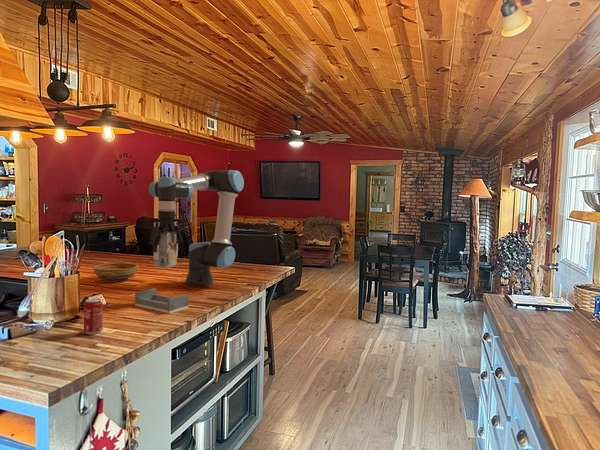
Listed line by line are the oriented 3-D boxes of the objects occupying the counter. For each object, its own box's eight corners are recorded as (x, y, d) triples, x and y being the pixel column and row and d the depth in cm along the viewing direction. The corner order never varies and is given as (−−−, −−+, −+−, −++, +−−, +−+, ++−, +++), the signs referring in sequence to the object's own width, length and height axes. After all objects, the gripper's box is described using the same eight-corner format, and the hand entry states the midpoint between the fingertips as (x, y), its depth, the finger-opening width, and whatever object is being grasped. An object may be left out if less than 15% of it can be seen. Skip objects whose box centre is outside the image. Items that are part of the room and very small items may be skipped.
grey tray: (154, 300, 208) (154, 288, 207) (188, 307, 197) (188, 294, 196) (135, 305, 198) (135, 292, 198) (169, 313, 187) (169, 299, 187)
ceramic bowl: (106, 274, 267) (106, 261, 266) (146, 275, 267) (146, 262, 267) (82, 284, 237) (82, 270, 237) (127, 285, 238) (127, 271, 237)
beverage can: (88, 329, 164) (87, 297, 163) (105, 329, 164) (105, 297, 163) (81, 335, 158) (80, 302, 157) (99, 335, 158) (98, 302, 157)
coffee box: (164, 264, 209) (165, 230, 208) (176, 265, 208) (177, 231, 207) (154, 267, 200) (154, 232, 199) (166, 268, 199) (167, 232, 198)
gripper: (179, 210, 214) (178, 255, 216) (140, 210, 195) (139, 259, 196) (190, 210, 210) (189, 256, 212) (152, 210, 191) (151, 261, 192)
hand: (165, 258), depth 204 cm, fingers closed on coffee box, 10 cm apart
